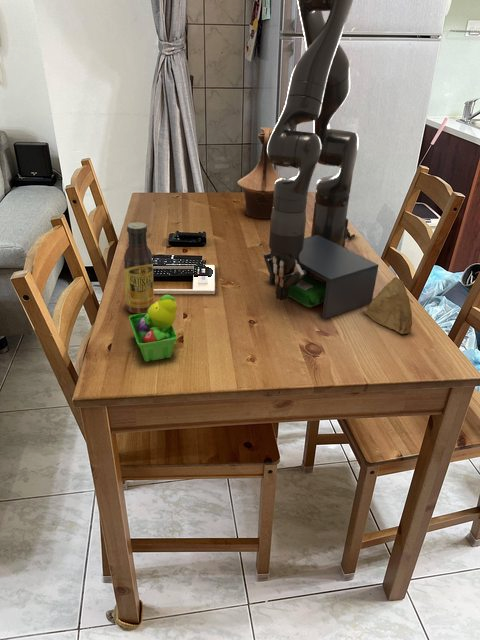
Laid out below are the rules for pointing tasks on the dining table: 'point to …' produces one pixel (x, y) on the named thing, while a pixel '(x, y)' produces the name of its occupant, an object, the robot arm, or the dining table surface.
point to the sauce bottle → (138, 270)
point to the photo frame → (199, 283)
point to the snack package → (308, 291)
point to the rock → (392, 307)
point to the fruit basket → (156, 329)
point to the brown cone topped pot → (260, 182)
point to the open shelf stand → (338, 274)
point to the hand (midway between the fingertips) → (281, 298)
